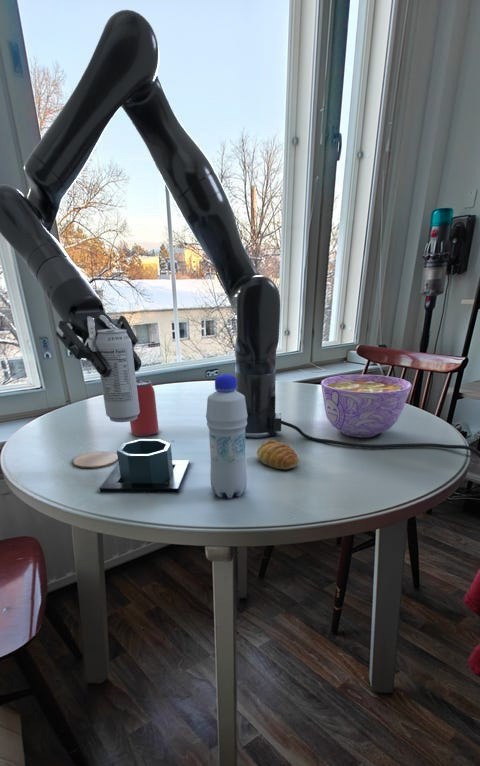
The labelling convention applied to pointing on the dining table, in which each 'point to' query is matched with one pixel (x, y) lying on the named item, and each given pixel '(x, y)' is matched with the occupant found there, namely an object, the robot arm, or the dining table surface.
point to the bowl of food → (364, 403)
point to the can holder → (146, 468)
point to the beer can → (145, 410)
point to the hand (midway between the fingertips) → (123, 370)
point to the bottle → (227, 437)
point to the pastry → (277, 455)
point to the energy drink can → (118, 375)
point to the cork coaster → (95, 459)
